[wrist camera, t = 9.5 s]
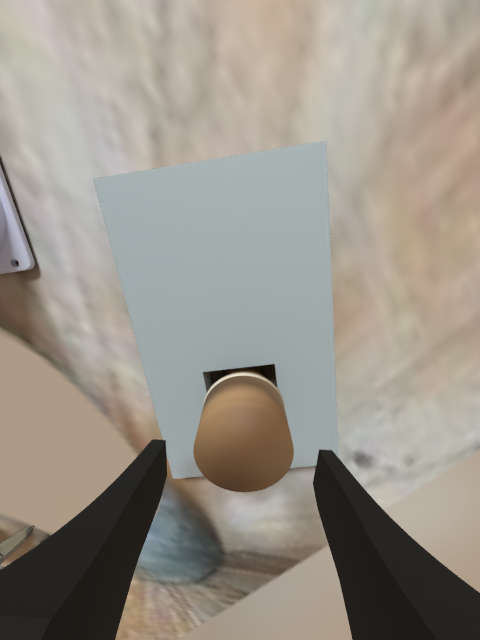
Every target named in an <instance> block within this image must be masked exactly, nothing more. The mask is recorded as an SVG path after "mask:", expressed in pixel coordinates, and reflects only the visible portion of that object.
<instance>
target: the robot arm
mask: <svg viewBox="0 0 480 640" xmlns="http://www.w3.org/2000/svg"><path fill="white" fill-rule="evenodd" d="M16 260H17V261H18V262H19V266H17V264H16ZM34 265H35V263H34V259H33V256H32V253H31V250H30V248H29V245H28V242H27V239H26V236H25V233H24V231H23V228H22V225H21V222H20V219H19V216H18V214H17V211H16V208H15V205H14V202H13V199H12V197H11V194H10V191H9V188H8V185H7V182H6V180H5V177H4V174H3V171H2V168H1V165H0V274H4V273H11V272H18V271H25V270H30V269H32V268H33V267H34ZM166 476H167V460H166V440H154V439H153V440H152V441H151V442H150V443H149V444H148V445H147V446H146V447H145V449H144V450H143V451H142V452H141V453H140V454H139V455H138V457H137V458H136V459H135V460H134V461H133V462H132V463H131V464H130V465H129V466H128V468H127V469H126V470H125V471H124V472H123V473H122V474H121V475H120V476H119V477H118V478H117V479H116V480H115V481H114V482H113V483H112V484H111V485H110V486H109V487H108V488H107V489H106V490H105V491H104V492H103V493H102V494H101V495H100V496H99V497H97V498H96V499H95V500H94V501H93V502H92V503H91V504H90V505H89V506H87V507H86V508H85V509H84V510H83V511H82V512H80V513H79V514H78V515H77V516H76V517H74V518H73V519H72V520H71V521H69V522H68V523H67V524H66V525H64V526H63V527H62V528H60V529H59V530H58V531H57V532H55V533H54V534H53V535H51V536H50V537H48V538H47V539H46V540H44V541H43V542H41V543H40V544H39V545H37V546H36V547H34V548H33V549H31V550H30V551H29V552H27V553H26V554H24V555H23V556H21V557H20V558H18V559H17V560H15V561H14V562H12V563H11V564H9V565H7V566H6V567H4V568H2V569H1V570H0V640H115V638H116V634H117V630H118V627H119V623H120V620H121V616H122V612H123V609H124V605H125V602H126V598H127V595H128V591H129V588H130V584H131V581H132V577H133V574H134V570H135V567H136V564H137V561H138V559H139V556H140V553H141V550H142V548H143V545H144V542H145V540H146V537H147V534H148V532H149V529H150V526H151V524H152V521H153V518H154V515H155V513H156V510H157V507H158V505H159V502H160V499H161V496H162V492H163V488H164V484H165V480H166ZM313 486H314V491H315V497H316V502H317V507H318V510H319V514H320V517H321V520H322V524H323V527H324V530H325V534H326V537H327V540H328V543H329V547H330V550H331V553H332V556H333V560H334V563H335V566H336V569H337V573H338V577H339V580H340V584H341V589H342V593H343V598H344V602H345V607H346V611H347V615H348V620H349V625H350V630H351V634H352V639H353V640H480V593H479V592H478V591H476V590H475V589H474V588H472V587H471V586H470V585H468V584H467V583H466V582H464V581H463V580H462V579H461V578H459V577H458V576H457V575H455V574H454V573H453V572H452V571H450V570H449V569H448V568H447V567H445V566H444V565H443V564H442V563H440V562H439V561H438V560H436V558H434V557H433V556H432V555H431V554H430V553H428V552H427V551H426V550H425V549H424V548H423V547H421V546H420V545H419V544H418V543H417V542H416V541H415V540H414V539H412V538H411V537H410V536H409V535H408V534H407V533H406V532H405V531H404V530H403V529H402V528H401V527H400V526H399V525H398V524H397V523H395V522H394V521H393V520H392V519H391V518H390V517H389V516H388V515H387V514H386V512H385V511H384V510H383V509H382V508H381V507H380V506H379V505H378V504H377V503H376V502H375V501H374V500H373V499H372V497H371V496H370V495H369V494H368V493H367V492H366V491H365V489H364V488H363V487H362V486H361V485H360V484H359V482H358V481H357V480H356V479H355V478H354V477H353V475H352V474H351V473H350V472H349V470H348V469H347V468H346V467H345V465H344V464H343V463H342V462H341V460H340V459H339V458H338V457H337V456H336V454H335V453H334V452H333V451H332V450H321V449H319V453H318V458H317V464H316V469H315V475H314V481H313Z"/></svg>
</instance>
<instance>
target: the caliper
mask: <svg viewBox="0 0 480 640" xmlns="http://www.w3.org/2000/svg"><path fill="white" fill-rule="evenodd" d="M32 526H33V527H35V526H34V525H32ZM32 530H33V528H30V527H26V528H24V529H22V530H21V531H19V532H18V533H16V534H14V535H13V536H11V537H9V538H8V539H6V540H5V541H3V542H1V543H0V564H2V563H3V562H4V561H5V560H6V559H7V558H8V557H9V556H10V555H11V554H12V553H13V552H14V551H16V550H17V549H18V548H19V547H20V546H21V545H22V544H23V543H24V541H25V540H26V539H27V538H28V537H29V536H30V535H31V532H32ZM48 537H49V536H48V535H47V534H46V535H45V536H44V537H43V538H42V539H41V540H40V541H39V542H38V543H37V544H36V545H35V546H34V547H36V546H37V545H39V544H40V543H41V542H43V541H44V540H46V539H47V538H48ZM34 547H33V548H34ZM33 548H32V549H33ZM2 568H4V567H2V566H1V565H0V570H1V569H2Z"/></svg>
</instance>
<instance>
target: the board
mask: <svg viewBox="0 0 480 640" xmlns="http://www.w3.org/2000/svg"><path fill="white" fill-rule="evenodd" d="M93 181H94V185H95V188H96V192H97V196H98V199H99V203H100V207H101V211H102V214H103V218H104V222H105V226H106V229H107V233H108V237H109V241H110V244H111V248H112V252H113V256H114V259H115V263H116V267H117V271H118V274H119V278H120V282H121V286H122V289H123V293H124V297H125V300H126V304H127V308H128V312H129V315H130V319H131V323H132V327H133V330H134V334H135V338H136V342H137V345H138V349H139V353H140V357H141V360H142V364H143V368H144V372H145V375H146V379H147V383H148V386H149V390H150V394H151V398H152V401H153V405H154V409H155V413H156V416H157V420H158V424H159V428H160V431H161V435H162V439H163V440H166V454H167V458H168V461H169V465H170V469H171V473H172V476H173V479H178V478H189V477H200V476H204V475H203V474H202V473H201V472H200V470H199V469H198V467H197V465H196V462H195V459H194V453H193V448H194V442H195V438H196V434H197V430H198V426H199V422H200V418H201V414H202V410H203V403H204V399H205V396H206V394H207V392H208V390H209V389H210V387H211V386H212V382H211V376H210V371H217V370H226V369H235V368H243V367H252V366H261V365H269V364H273V366H274V375H275V384H276V387H277V388H278V390H279V391H280V393H281V395H282V397H283V400H284V405H285V412H286V417H287V421H288V425H289V429H290V433H291V438H292V442H293V447H294V456H293V461H292V464H291V466H290V468H299V467H310V466H316V464H317V458H318V453H319V449H321V450H332V451H333V452H334V453H335V454H336V456H337V457H338V431H337V405H336V379H335V353H334V327H333V301H332V274H331V248H330V222H329V196H328V170H327V144H326V141H320V142H314V143H308V144H302V145H296V146H290V147H284V148H278V149H272V150H265V151H259V152H253V153H247V154H241V155H235V156H229V157H223V158H217V159H211V160H204V161H198V162H192V163H186V164H180V165H174V166H168V167H162V168H156V169H150V170H143V171H137V172H131V173H125V174H119V175H113V176H107V177H101V178H95V179H93ZM338 458H339V457H338Z"/></svg>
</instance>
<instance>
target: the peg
mask: <svg viewBox="0 0 480 640" xmlns="http://www.w3.org/2000/svg"><path fill="white" fill-rule="evenodd" d="M193 453H194V459H195V462H196V465H197V467H198V469H199V470H200V472H201V473H202V474H203V475H204V476H205V477H206V478H207V479H208V480H209V481H211V482H212V483H213V484H215V485H217V486H219V487H221V488H224V489H227V490H231V491H236V492H252V491H258V490H262V489H265V488H267V487H269V486H271V485H273V484H275V483H276V482H278V481H279V480H280V479H281V478H282V477H283V476H284V475H285V474H286V473H287V471H288V470H289V468H290V466H291V464H292V461H293V456H294V447H293V442H292V438H291V433H290V429H289V425H288V421H287V417H286V412H285V405H284V400H283V397H282V395H281V393H280V391H279V390H278V388H277V387H276V386H275V385H274V384H273V383H272V382H271V381H270V380H268V379H267V378H266V376H265V373H264V371H263V370H262V369H261V368H260V367H259V366H252V367H243V368H235V369H226V370H225V372H224V374H223V377H222V378H221V379H219V380H218V381H216V382H215V383H214V384H213V385H212V386H211V387H210V389H209V390H208V392H207V394H206V396H205V399H204V403H203V410H202V414H201V418H200V422H199V426H198V430H197V434H196V438H195V442H194V448H193Z"/></svg>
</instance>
